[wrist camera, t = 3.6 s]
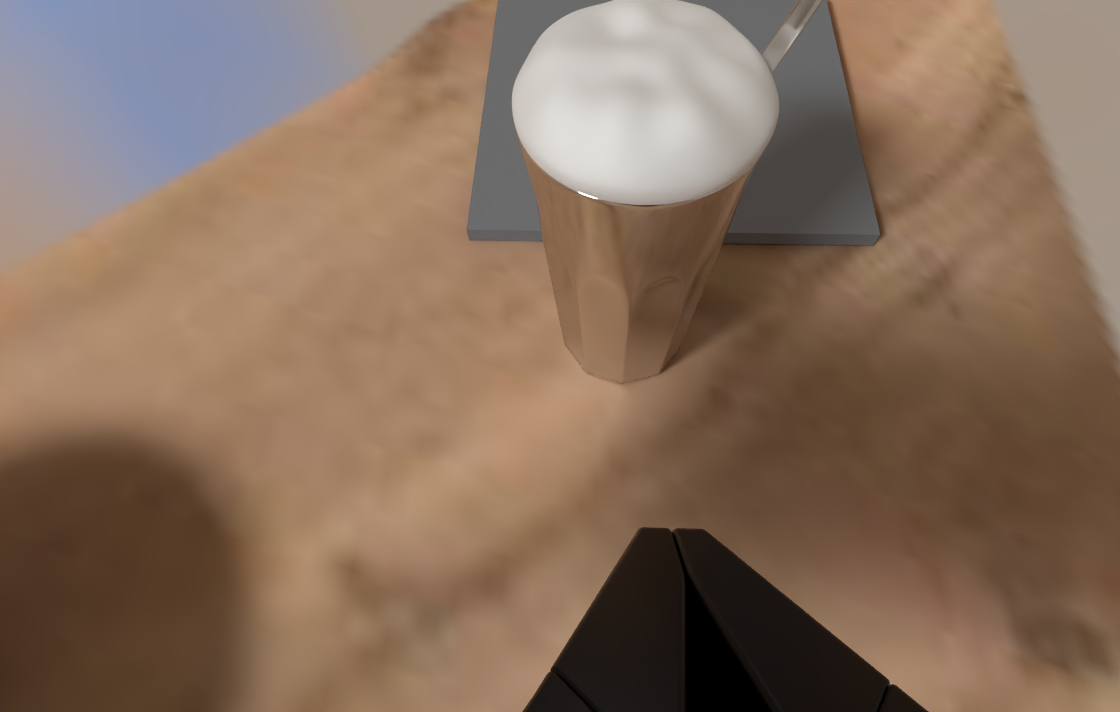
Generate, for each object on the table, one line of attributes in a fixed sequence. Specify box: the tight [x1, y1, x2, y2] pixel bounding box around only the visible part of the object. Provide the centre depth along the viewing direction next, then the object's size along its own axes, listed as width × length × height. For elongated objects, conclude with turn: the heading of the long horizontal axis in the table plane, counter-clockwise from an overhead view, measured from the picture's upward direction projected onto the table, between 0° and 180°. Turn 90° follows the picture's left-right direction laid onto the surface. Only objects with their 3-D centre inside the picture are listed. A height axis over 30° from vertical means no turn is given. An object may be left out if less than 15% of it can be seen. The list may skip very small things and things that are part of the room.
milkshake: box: [512, 0, 823, 384], centre depth 14 cm, size 4×5×10 cm
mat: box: [467, 0, 880, 245], centre depth 22 cm, size 11×12×1 cm
